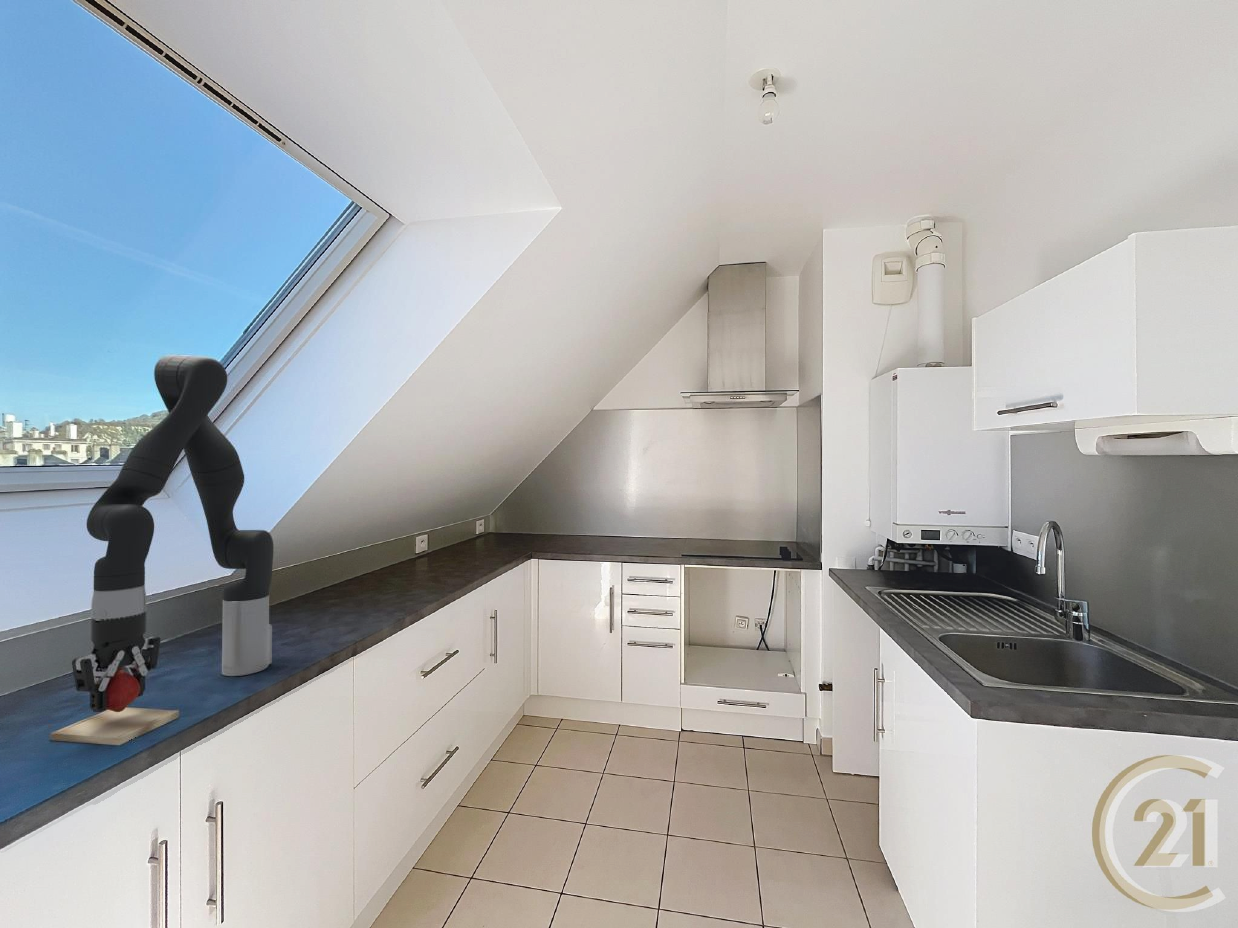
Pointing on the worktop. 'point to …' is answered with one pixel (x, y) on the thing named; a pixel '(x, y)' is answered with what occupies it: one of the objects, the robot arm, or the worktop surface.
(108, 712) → the board
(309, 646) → the worktop surface
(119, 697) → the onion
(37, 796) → the worktop surface
